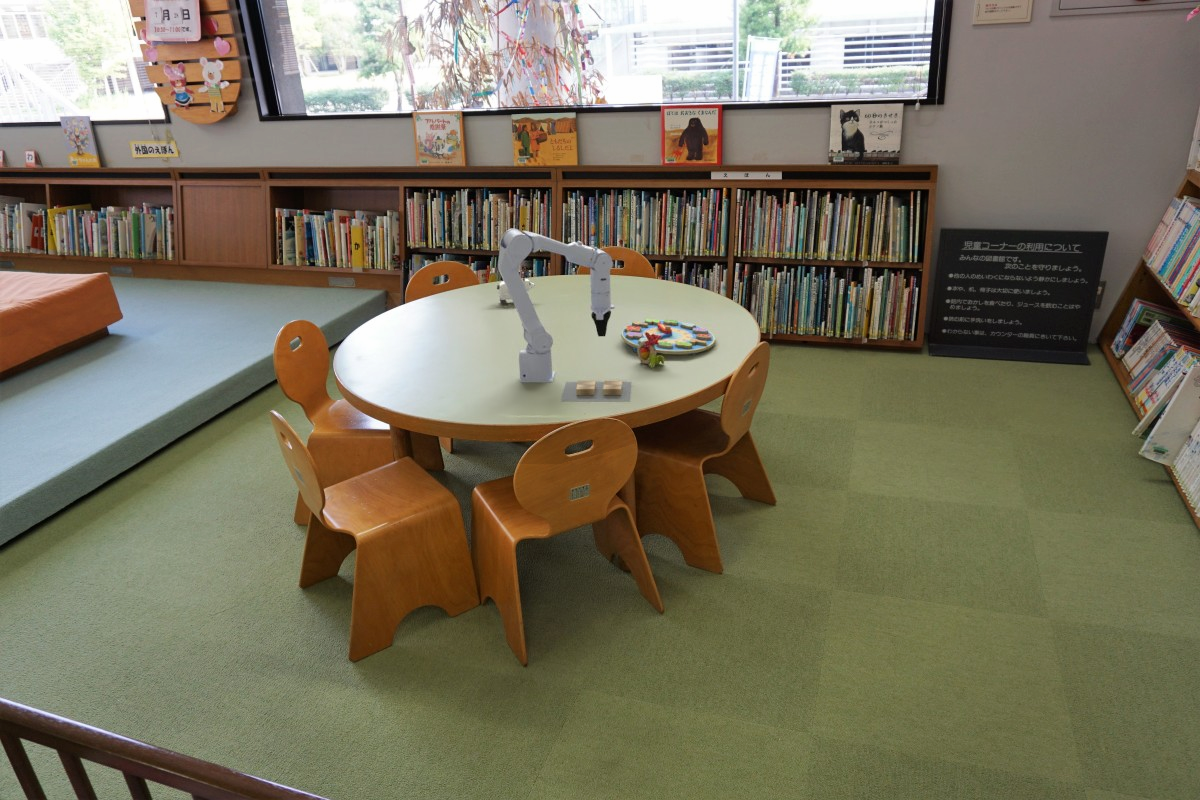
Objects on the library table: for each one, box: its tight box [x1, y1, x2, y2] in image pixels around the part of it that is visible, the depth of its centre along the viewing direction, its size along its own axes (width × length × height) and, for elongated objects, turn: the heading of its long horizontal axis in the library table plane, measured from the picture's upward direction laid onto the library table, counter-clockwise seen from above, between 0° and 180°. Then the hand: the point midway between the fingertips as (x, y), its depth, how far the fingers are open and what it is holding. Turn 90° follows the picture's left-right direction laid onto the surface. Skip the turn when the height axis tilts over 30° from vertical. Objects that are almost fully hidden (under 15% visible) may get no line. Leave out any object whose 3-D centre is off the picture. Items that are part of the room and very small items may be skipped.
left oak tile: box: [576, 380, 597, 395], centre depth 227 cm, size 5×2×6 cm
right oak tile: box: [603, 380, 623, 395], centre depth 227 cm, size 5×2×6 cm
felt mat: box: [560, 381, 632, 403], centre depth 228 cm, size 19×14×1 cm
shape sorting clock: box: [620, 318, 716, 355], centre depth 264 cm, size 31×30×6 cm
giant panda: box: [496, 277, 536, 306], centre depth 310 cm, size 15×6×10 cm, turn 103°
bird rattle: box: [636, 332, 665, 369], centre depth 244 cm, size 6×11×9 cm
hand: (601, 335), depth 241 cm, fingers closed
